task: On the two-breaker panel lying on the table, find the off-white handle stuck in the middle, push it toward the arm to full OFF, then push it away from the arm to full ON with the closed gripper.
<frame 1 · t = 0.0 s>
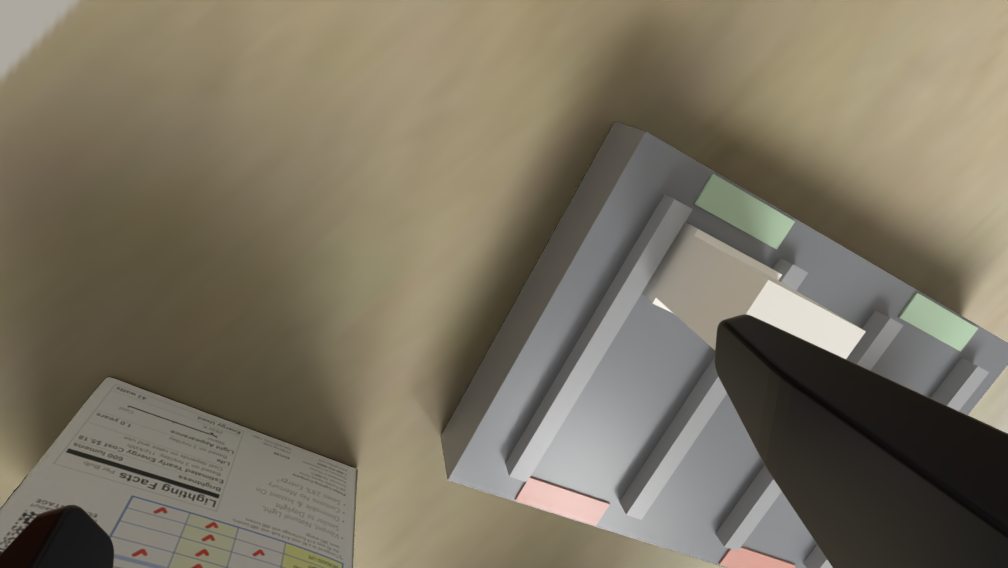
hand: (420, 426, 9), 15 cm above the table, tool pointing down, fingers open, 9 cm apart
light bulb box: (210, 478, 26), on the table
breaker panel: (715, 375, 29), on the table
on handle: (743, 307, 21), point 6 cm above the table, slide at 4.0 cm
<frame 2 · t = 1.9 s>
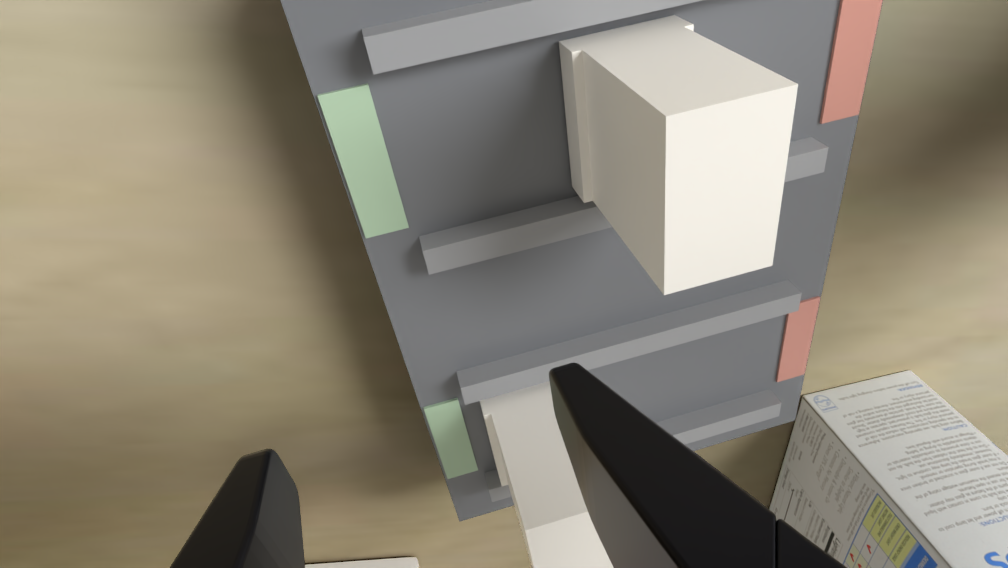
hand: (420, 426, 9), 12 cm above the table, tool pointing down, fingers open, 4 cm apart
light bulb box: (829, 443, 35), on the table
breaker panel: (592, 224, 22), on the table
on handle: (548, 480, 20), point 6 cm above the table, slide at 4.0 cm
tripped handle: (664, 145, 14), point 6 cm above the table, slide at 0.0 cm
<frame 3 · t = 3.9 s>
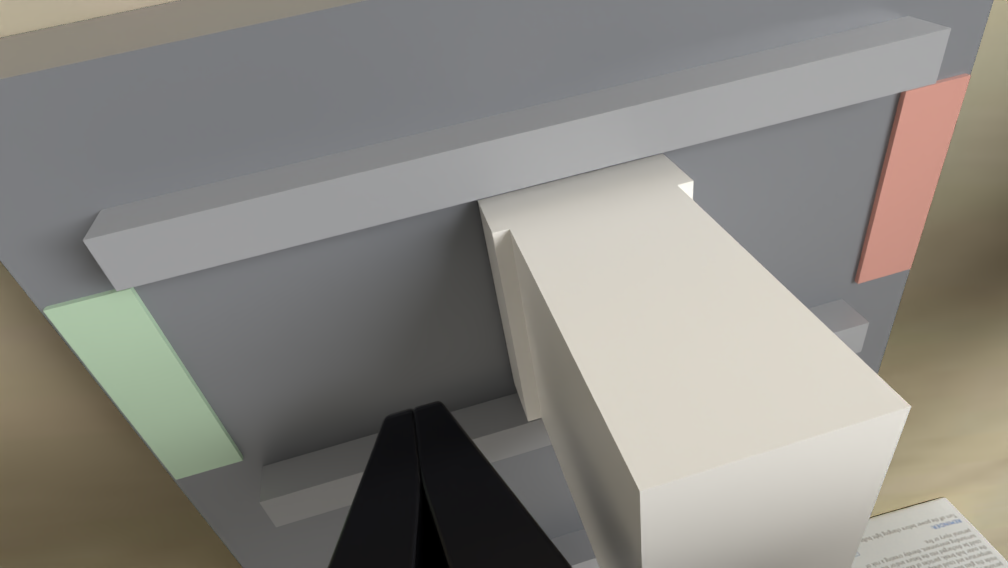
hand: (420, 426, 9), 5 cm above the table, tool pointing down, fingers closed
breaker panel: (541, 382, 16), on the table
tripped handle: (646, 387, 9), point 6 cm above the table, slide at -0.5 cm, touching gripper
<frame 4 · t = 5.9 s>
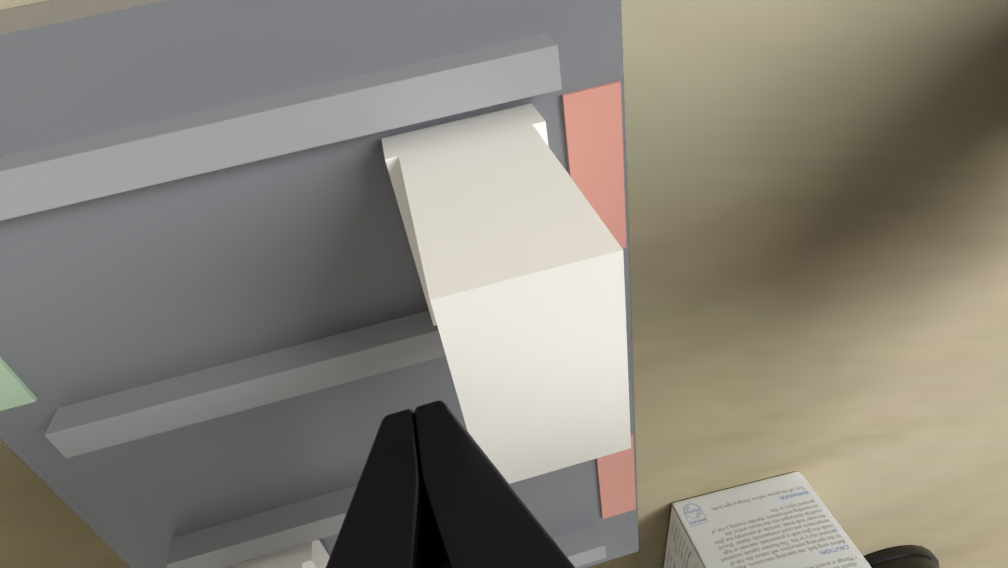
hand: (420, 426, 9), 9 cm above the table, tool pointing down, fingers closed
light bulb box: (718, 543, 31), on the table
breaker panel: (358, 350, 19), on the table
tripped handle: (503, 280, 11), point 6 cm above the table, slide at -4.1 cm
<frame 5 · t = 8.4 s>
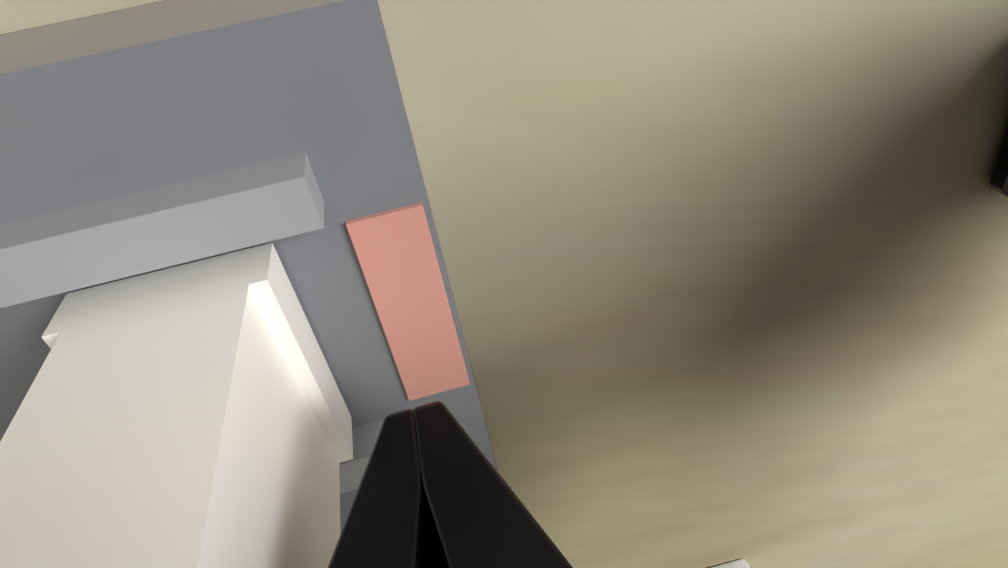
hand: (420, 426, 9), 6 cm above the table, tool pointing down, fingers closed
breaker panel: (192, 472, 16), on the table
tripped handle: (201, 499, 8), point 6 cm above the table, slide at -3.6 cm, touching gripper
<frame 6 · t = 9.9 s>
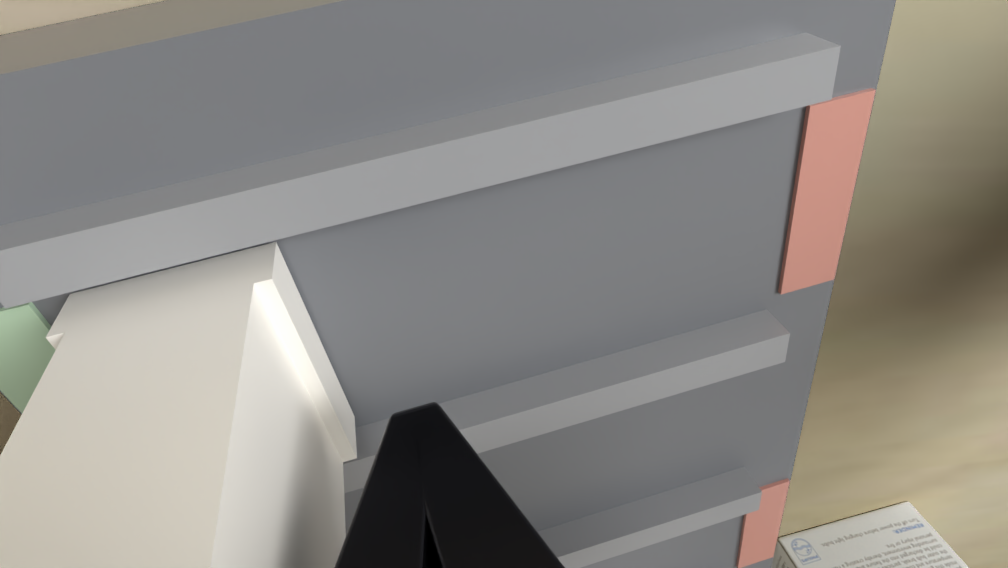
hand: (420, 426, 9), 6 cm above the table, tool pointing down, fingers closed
breaker panel: (484, 389, 16), on the table
tripped handle: (207, 498, 8), point 6 cm above the table, slide at 4.1 cm, touching gripper
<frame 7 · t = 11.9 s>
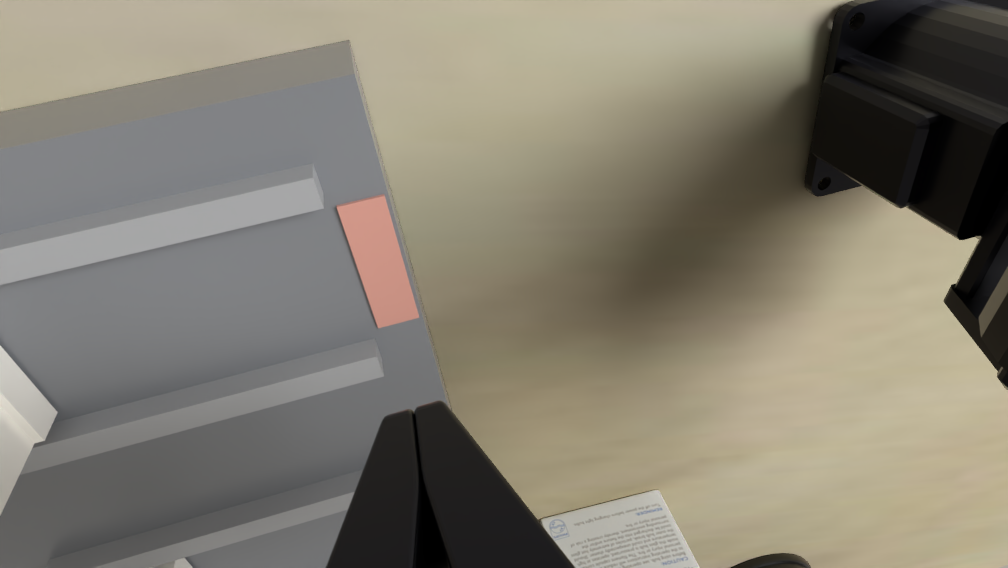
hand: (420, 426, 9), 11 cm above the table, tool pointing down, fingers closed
light bulb box: (595, 554, 34), on the table
breaker panel: (221, 394, 21), on the table
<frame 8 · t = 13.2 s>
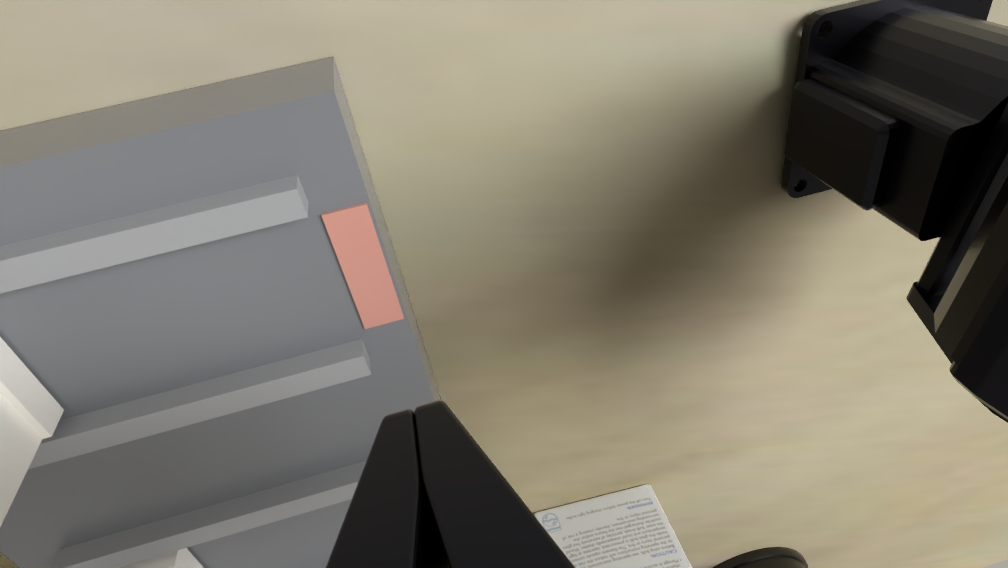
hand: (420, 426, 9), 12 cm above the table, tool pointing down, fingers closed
light bulb box: (589, 547, 35), on the table
breaker panel: (220, 392, 22), on the table
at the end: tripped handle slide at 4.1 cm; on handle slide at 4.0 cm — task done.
